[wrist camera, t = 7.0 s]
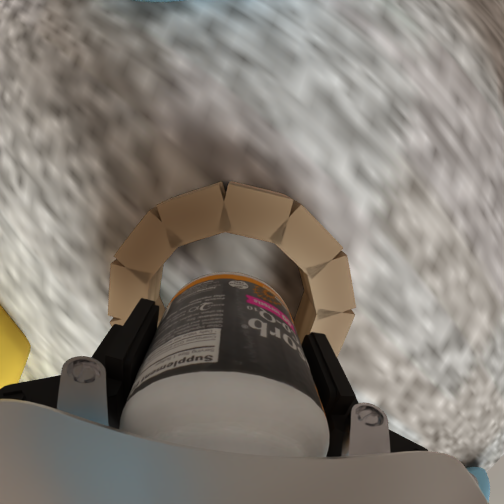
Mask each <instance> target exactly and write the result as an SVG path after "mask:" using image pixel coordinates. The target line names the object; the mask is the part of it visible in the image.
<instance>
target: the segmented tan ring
mask: <svg viewBox="0 0 504 504" xmlns="http://www.w3.org/2000/svg"><path fill="white" fill-rule="evenodd" d="M156 206H157V207H155V208H153V209H151V210H149V211H148V212H147V214H146V215H145V216H144V217H143V219H142V220H141V221H140V222H139V224H138V225H137V226H136V227H135V229H134V230H133V231H132V233H131V234H130V235H129V236H128V238H127V239H126V240H125V242H124V243H123V244H122V246H121V247H120V248H119V250H118V251H117V252H116V254H115V255H114V257H115V258H116V260H115V261H113V262H112V263H111V269H110V284H109V303H108V315H109V316H112V317H113V319H112V320H111V321H110V324H111V326H113V325H114V324H119V325H122V326H123V325H124V323H125V322H126V320H127V319H128V317H129V316H130V314H131V313H132V311H133V310H134V308H135V306H136V305H137V303H138V302H139V300H140V299H141V298H144V299H148V300H152V301H155V305H158V306H159V316H158V325H157V328H158V326H159V323H160V321H161V319H162V316H163V314H164V312H165V308H164V305H163V303H162V301H161V298H160V296H159V292H160V285H161V278H162V271H163V264H164V262H165V261H166V260H167V259H168V258H169V257H170V255H171V254H172V253H173V252H174V251H175V250H176V249H177V247H178V246H181V245H185V244H188V243H191V242H194V241H197V240H201V239H204V238H207V237H210V236H214V235H217V234H220V233H224V232H227V233H232V234H236V235H241V236H245V237H250V238H254V239H258V240H263V241H267V242H272V243H275V244H276V245H277V246H278V247H279V248H280V249H281V250H282V251H283V252H284V253H285V254H286V255H287V256H288V257H289V258H290V259H292V260H293V261H294V262H295V263H296V264H297V265H298V267H299V271H300V275H301V279H302V283H303V287H304V293H303V296H302V299H301V302H300V305H299V308H298V311H297V314H296V317H295V320H294V326H295V329H296V331H297V334H298V337H299V340H300V343H301V345H302V342H303V339H304V337H305V335H309V334H310V333H311V332H316V333H323V334H325V335H326V337H327V339H328V341H329V343H330V345H331V347H332V349H333V351H334V353H335V355H336V357H337V356H338V354H339V352H340V350H341V347H342V345H343V343H344V340H345V338H346V336H347V333H348V331H349V328H350V326H351V324H352V321H353V319H354V316H355V314H354V313H353V311H352V310H351V309H353V308H356V304H355V298H354V292H353V286H352V280H351V274H350V269H349V263H348V258H347V255H346V254H345V253H344V252H343V251H341V250H342V249H343V247H342V246H341V245H340V244H339V243H338V242H337V241H336V240H335V239H334V238H333V237H332V235H331V234H330V233H329V232H328V231H327V230H326V229H325V228H324V227H323V226H322V225H321V224H320V223H319V222H318V221H317V220H316V219H315V218H314V217H313V216H312V215H311V214H310V213H309V212H308V211H307V210H306V209H305V208H304V207H303V206H302V205H301V204H300V203H298V202H296V201H295V200H293V199H291V198H289V197H288V196H286V195H284V194H282V193H278V192H274V191H270V190H266V189H262V188H258V187H254V186H250V185H245V184H241V183H237V182H232V181H230V182H229V184H228V187H227V191H226V192H225V189H224V186H223V182H218V183H215V184H212V185H209V186H206V187H203V188H200V189H196V190H193V191H190V192H187V193H184V194H181V195H179V196H176V197H173V198H170V199H168V200H166V201H164V202H162V203H160V204H158V205H156Z"/></svg>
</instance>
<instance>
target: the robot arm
mask: <svg viewBox="0 0 504 504" xmlns="http://www.w3.org/2000/svg"><path fill="white" fill-rule="evenodd" d="M158 316H159V306H158V305H155V301H152V300H148V299H144V298H141V299H140V300H139V302H138V303H137V305H136V306H135V308H134V310H133V311H132V313H131V314H130V316H129V317H128V319H127V320H126V322H125V323H124V325H123V326H122V325H119V324H114V325H113V326H112V328H111V329H110V331H109V332H108V334H107V335H106V336H105V338H104V339H103V341H102V342H101V344H100V345H99V347H98V348H97V350H96V351H95V353H94V354H93V356H92V357H86V356H78V357H73V358H71V359H69V360H67V361H66V362H65V363H64V364H63V367H62V371H61V375H59V376H54V377H49V378H44V379H38V380H33V381H27V382H21V383H15V384H10V385H6V386H4V387H2V388H1V389H0V504H489V503H488V501H487V499H486V498H485V496H484V494H483V493H482V491H481V489H480V488H479V484H478V480H477V478H476V477H475V476H474V475H473V474H471V473H470V472H469V471H468V470H467V469H466V468H465V466H464V465H463V464H462V463H461V462H460V461H459V460H458V459H457V458H455V457H453V456H450V455H448V454H444V453H438V452H432V451H428V450H427V449H425V448H424V447H422V446H420V445H418V444H416V443H414V442H412V441H410V440H408V439H406V438H404V437H402V436H401V435H399V434H397V433H395V432H393V431H391V430H389V427H388V419H387V416H386V414H385V413H384V411H382V410H381V409H380V408H379V407H377V406H375V405H373V404H370V403H358V401H357V399H356V396H355V394H354V392H353V390H352V388H351V385H350V383H349V381H348V379H347V377H346V375H345V373H344V371H343V369H342V367H341V365H340V363H339V361H338V359H337V357H336V355H335V353H334V351H333V349H332V347H331V345H330V343H329V341H328V339H327V337H326V335H325V334H323V333H316V332H311V333H310V334H309V335H305V337H304V339H303V342H302V345H301V346H302V349H303V352H304V355H305V357H306V360H307V362H308V365H309V368H310V372H311V375H312V378H313V381H314V383H315V386H316V388H317V391H318V395H319V398H320V400H321V403H322V406H323V409H324V412H325V416H326V419H327V423H328V428H329V447H328V452H327V455H326V457H284V456H266V455H253V454H242V453H233V452H225V451H217V450H211V449H204V448H198V447H192V446H187V445H181V444H176V443H171V442H167V441H162V440H158V439H154V438H149V437H145V436H142V435H138V434H134V433H130V432H127V431H123V430H120V429H119V426H120V418H121V415H122V411H123V408H124V406H125V404H126V402H127V399H128V396H129V394H130V391H131V389H132V386H133V384H134V381H135V378H136V375H137V373H138V371H139V368H140V366H141V364H142V362H143V359H144V357H145V355H146V352H147V350H148V348H149V346H150V344H151V341H152V339H153V337H154V335H155V332H156V330H157V325H158Z"/></svg>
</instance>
